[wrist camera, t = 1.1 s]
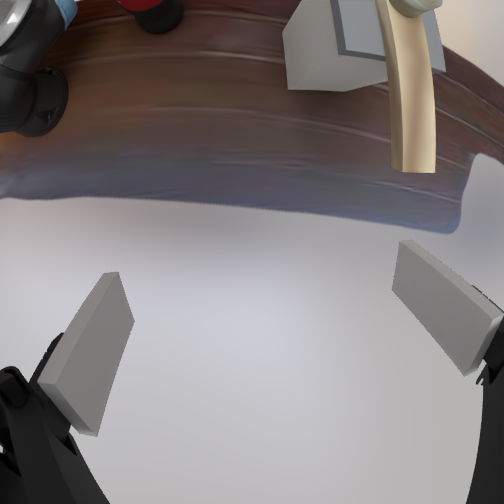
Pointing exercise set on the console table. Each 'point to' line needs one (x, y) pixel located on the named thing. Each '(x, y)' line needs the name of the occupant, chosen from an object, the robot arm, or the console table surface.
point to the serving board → (409, 83)
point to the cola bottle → (154, 13)
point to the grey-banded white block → (343, 45)
